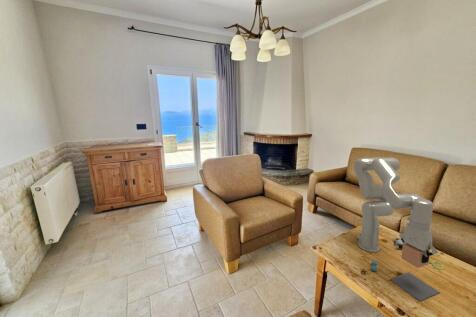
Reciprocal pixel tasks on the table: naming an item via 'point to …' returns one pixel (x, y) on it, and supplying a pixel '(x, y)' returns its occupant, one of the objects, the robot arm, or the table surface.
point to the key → (435, 266)
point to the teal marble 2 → (374, 268)
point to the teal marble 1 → (373, 263)
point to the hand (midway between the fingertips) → (415, 257)
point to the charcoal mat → (414, 286)
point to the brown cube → (413, 255)
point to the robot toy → (398, 243)
